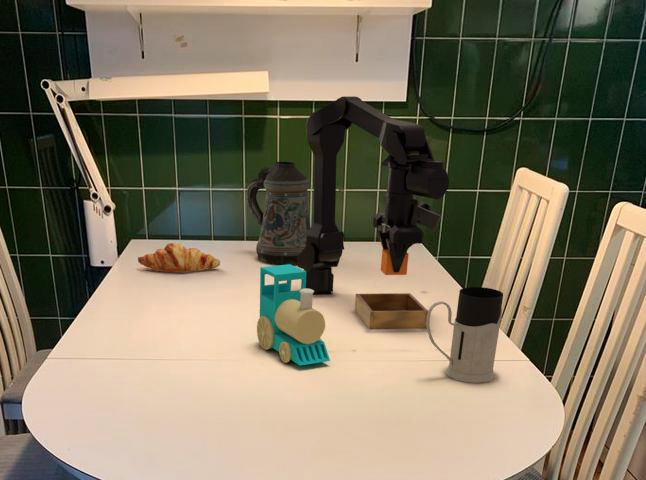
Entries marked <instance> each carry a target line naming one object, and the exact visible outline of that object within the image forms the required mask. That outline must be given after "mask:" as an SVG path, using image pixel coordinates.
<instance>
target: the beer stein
mask: <svg viewBox="0 0 646 480" xmlns="http://www.w3.org/2000/svg"><path fill="white" fill-rule="evenodd" d="M310 185H311V183H310V180H309V178H308V177H307V176H306V175H305V174H304V173H303V172H301V171H300V170H299V169H298V168H297V166H296V164H295V162H292V161H276V162H275V163H274V165H272V166H266V167H262V168H261V169H260V170H259V171H258V173H257V177H255V178H253V179H252V180H251V181H250V182H248V187H247V189H246V202H247V206H248V208H249V211H250V213H251V214H252V216H253V218H254V219H255V220H256V222H257V223H258V224H259V226H261V228H260V232H259V233H260V234H259V238H258V240H257V243H256V247H255V250H256V254H257V255H256V256H257V260H258V261H259V262H261V263H264V264H267V265H271V266H278V265H288V264H291V265H293V266H295V267H296V266H298V264H297V257H298V256H299V254H300V253H301V252H302V251H303V249H304V248H305V246H306V238H307V234H308V232H309V230H310V229H311V227H312V226H311V220H310V212H309V211H310V210H309V202H308V201H309V200H308V199H309V198H308V190H309V189H310ZM260 189H261V190H262V189H265V191H266V192H265V193H266V194H265V199H264V200H265V201H264V208H263V211H262V209H261V208H260V205H259V203H258V200H257V194H258V191H259V190H260Z"/></svg>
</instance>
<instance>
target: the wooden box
mask: <svg viewBox="0 0 646 480" xmlns="http://www.w3.org/2000/svg"><path fill="white" fill-rule="evenodd" d="M354 298H355V300H354V301H355V302H354V311H355V312H356V314H357V315H358V316H359V318H360V319H361V320H362V322H363V323H364V325H365V326H366V327H367V329H368V330H416V329H417V330H418V329H419V330H421V329H423V330H425V329H426V330H427V314H428V310H429V309H427V308H426V307H425V306H424V305H423V304H422V303H421V302H420V301H419V300H418V299H417V298H416V297H415V296H414V295H413V294H411V293H410V292H402V293H401V292H399V293H398V292H391V293H390V292H385V293H383V292H381V293H380V292H379V293H378V292H377V293H355V297H354Z"/></svg>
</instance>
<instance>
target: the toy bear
mask: <svg viewBox="0 0 646 480" xmlns="http://www.w3.org/2000/svg"><path fill="white" fill-rule="evenodd" d="M381 250H382V251H381V263H380V271H381V272H382V274H383V275H385V276H407V273H408V264H409V255H410V254H409V252H407V253H406V255H405V258H404V260H403V263H402V266H401V268H400V271H399V272H394V271H393V267H392V263H391V259H390V254H389V250H388V249H383V248H382V249H381Z"/></svg>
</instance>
